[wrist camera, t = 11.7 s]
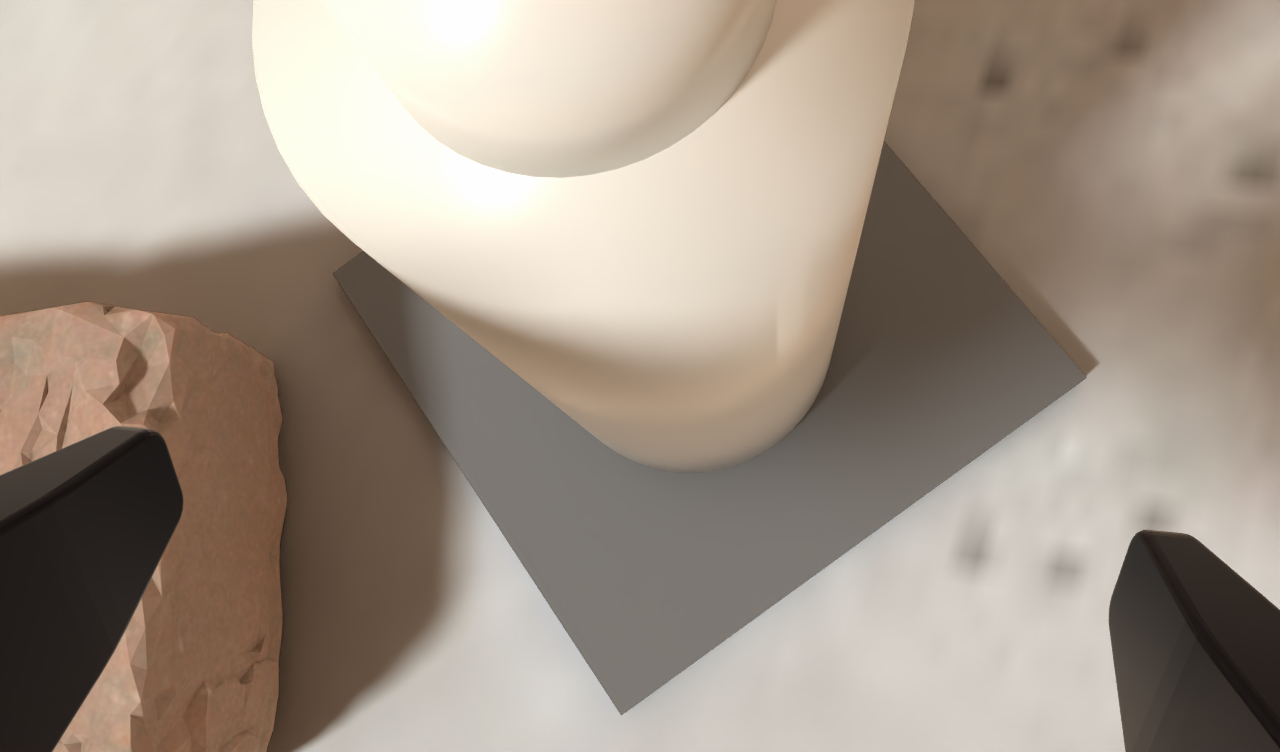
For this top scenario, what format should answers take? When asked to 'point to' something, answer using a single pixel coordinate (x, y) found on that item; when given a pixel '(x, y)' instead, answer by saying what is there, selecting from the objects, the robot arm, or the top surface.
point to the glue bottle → (605, 189)
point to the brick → (208, 528)
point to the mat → (750, 491)
